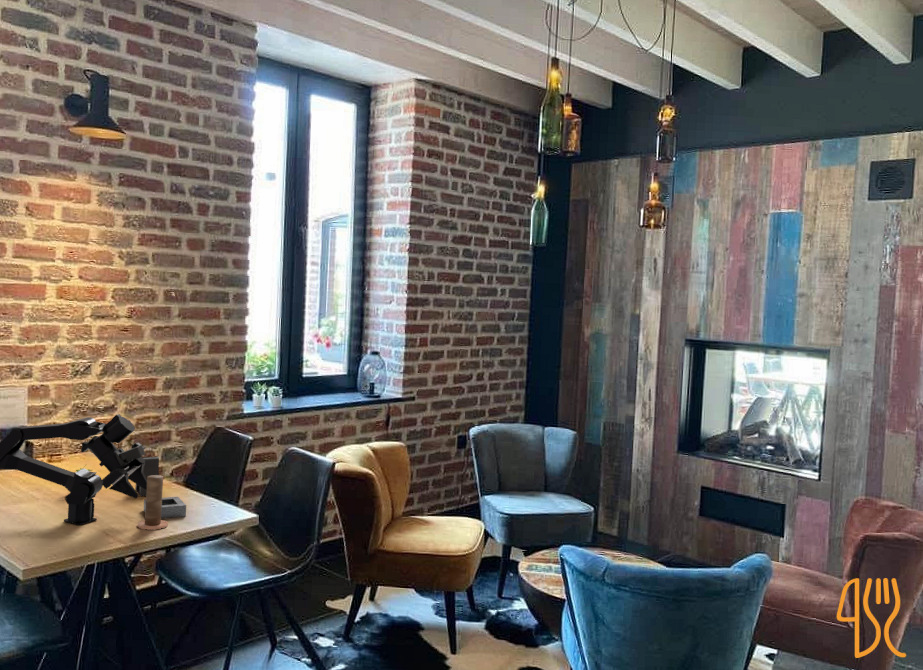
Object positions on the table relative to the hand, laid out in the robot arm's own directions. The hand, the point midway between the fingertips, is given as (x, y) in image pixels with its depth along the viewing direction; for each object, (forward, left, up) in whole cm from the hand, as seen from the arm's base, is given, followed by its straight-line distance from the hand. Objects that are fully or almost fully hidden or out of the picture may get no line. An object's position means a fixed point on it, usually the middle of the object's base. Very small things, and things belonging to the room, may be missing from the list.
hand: (143, 493), depth 232 cm
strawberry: (+12, +38, -10) cm, 41 cm away
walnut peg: (+1, -3, -9) cm, 9 cm away
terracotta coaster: (+1, -3, -10) cm, 10 cm away
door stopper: (+26, +24, -10) cm, 37 cm away
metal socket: (+12, +3, -10) cm, 16 cm away
